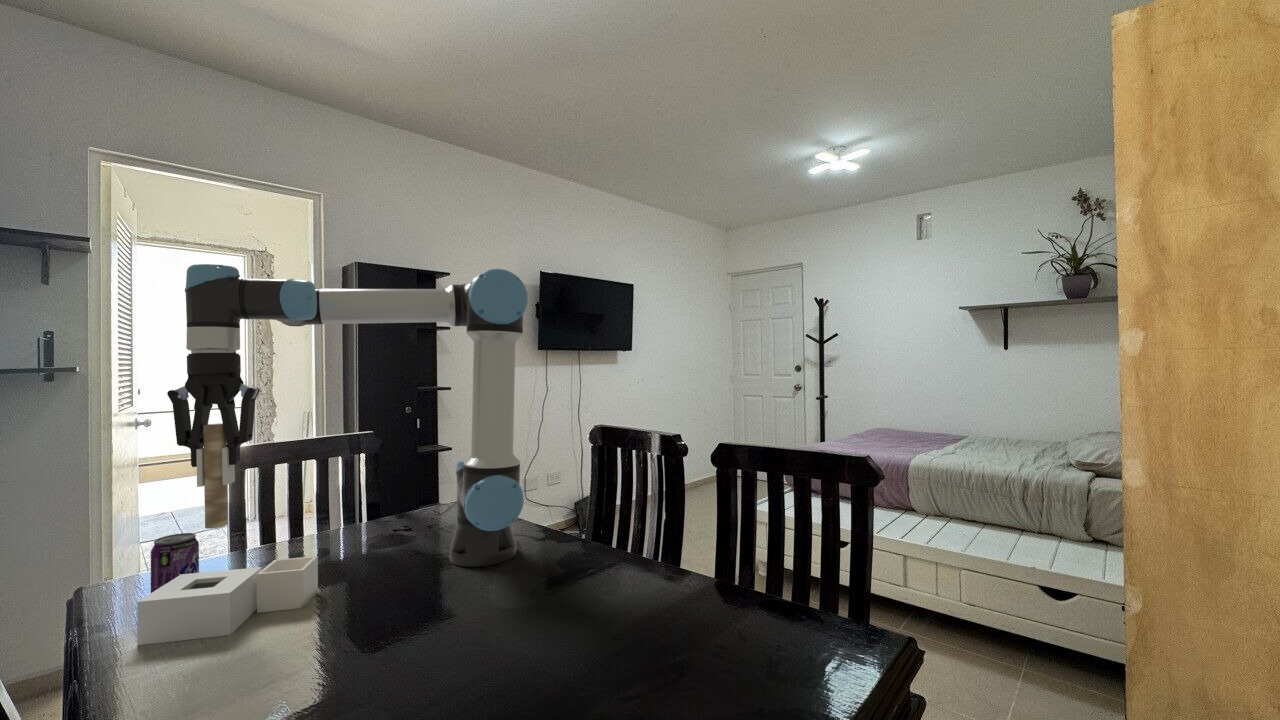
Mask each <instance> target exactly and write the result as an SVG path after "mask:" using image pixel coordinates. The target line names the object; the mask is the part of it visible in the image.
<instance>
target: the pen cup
mask: <svg viewBox="0 0 1280 720" xmlns="http://www.w3.org/2000/svg"><path fill="white" fill-rule="evenodd" d="M318 559H319V558H318V556H317V555H316V556H303V557H293V558H282V559H274V560H272V561H271V562H270V563H269V564H268V565H266V566H265V567H264V568H262V570H261V571H260V572H259V573H258V574H257V610H256V613H257V614H259V613H267V612H268V613H269V612H279V611H285V610H286V611H287V610H296V609H305V607H306V606H307V605H308V603H310V601H311V600H312V599H313V598H314V597H315V596H316V594H317V593H318V592H319V565H318V563H319V562H318Z"/></svg>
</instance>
